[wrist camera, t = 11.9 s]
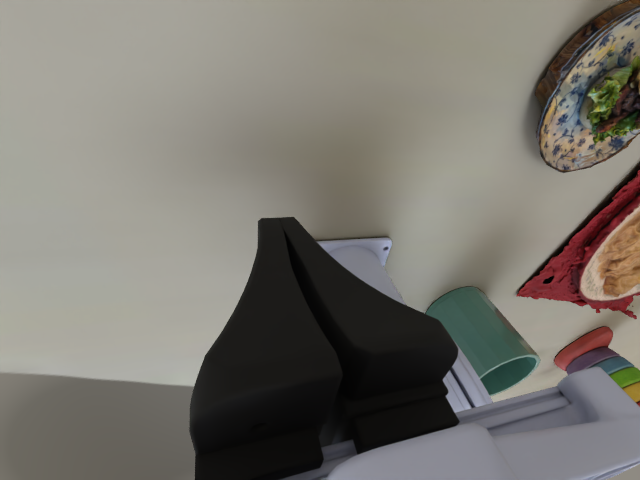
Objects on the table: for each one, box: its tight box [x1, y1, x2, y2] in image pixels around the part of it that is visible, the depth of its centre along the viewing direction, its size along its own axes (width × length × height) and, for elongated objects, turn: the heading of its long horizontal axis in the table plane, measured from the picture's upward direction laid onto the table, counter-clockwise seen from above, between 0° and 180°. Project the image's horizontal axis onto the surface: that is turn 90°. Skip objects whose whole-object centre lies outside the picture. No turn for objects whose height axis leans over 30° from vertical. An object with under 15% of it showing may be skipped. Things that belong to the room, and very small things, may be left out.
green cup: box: [426, 287, 541, 396], centre depth 36 cm, size 8×8×9 cm
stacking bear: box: [554, 327, 640, 407], centre depth 52 cm, size 11×10×18 cm
